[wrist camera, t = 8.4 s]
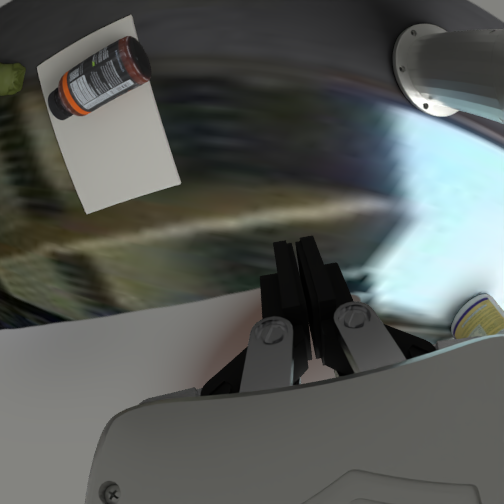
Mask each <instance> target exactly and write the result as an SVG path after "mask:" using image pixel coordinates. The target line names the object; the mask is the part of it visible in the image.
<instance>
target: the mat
mask: <svg viewBox="0 0 504 504" xmlns="http://www.w3.org/2000/svg"><path fill="white" fill-rule="evenodd" d="M126 36H132V37H134V38H136V39H137V40H138V37H137V34H136V30H135V26H134V22H133V18H132V15H130V16H127V17H125V18H123V19H120V20H118V21H116V22H114V23H112V24H110V25H108V26H106V27H103V28H101V29H99V30H98V31H96V32H94V33H92V34H90V35H88V36H86V37H84V38H82V39H81V40H79V41H77V42H75V43H74V44H72V45H70V46H69V47H67V48H65V49H64V50H62V51H60V52H59V53H57V54H56V55H54V56H52V57H51V58H49V59H48V60H46V61H45V62H43V63H42V64H40V65H39V66H37V71H38V75H39V79H40V83H41V87H42V91H43V95H44V98H45V102H46V105H47V109H48V112H49V116H50V119H51V122H52V125H53V128H54V131H55V135H56V138H57V140H58V143H59V146H60V149H61V152H62V155H63V157H64V160H65V163H66V166H67V168H68V171H69V173H70V176H71V178H72V181H73V183H74V186H75V188H76V191H77V193H78V196H79V198H80V200H81V203H82V205H83V207H84V209H85V212H86V214H89V213H92V212H95V211H97V210H100V209H103V208H106V207H109V206H112V205H115V204H118V203H121V202H124V201H127V200H130V199H133V198H136V197H139V196H142V195H145V194H149V193H152V192H155V191H158V190H162V189H165V188H169V187H172V186H175V185H179V184H181V181H180V178H179V175H178V172H177V169H176V166H175V163H174V159H173V156H172V153H171V150H170V147H169V144H168V141H167V138H166V134H165V131H164V128H163V125H162V122H161V118H160V115H159V112H158V108H157V105H156V102H155V98H154V95H153V91H152V88H151V85H150V81H148V82H146V83H144V84H142V85H141V86H138V87H137V88H135V89H132V90H130V91H129V92H127V93H125V94H123V95H121V96H119V97H117V98H115V99H114V100H112V101H110V102H108V103H106V104H104V105H103V106H101V107H99V108H98V109H96V110H94V111H92V112H91V113H89V114H87V115H85V116H75V115H72V116H71V117H69V118H67V119H65V120H59V119H57V118H56V117H54V116H53V114H52V113H51V111H50V109H49V106H48V96H49V94H50V93H51V92H52V91H54V90H55V89H56V88H57V87H58V85H59V81H60V79H61V77H62V76H63V75H64V74H65V73H66V72H67V71H69V70H70V69H72V68H73V67H75V66H76V65H78V64H79V63H81V62H82V61H84V60H85V59H87V58H88V57H90V56H92V55H93V54H95V53H97V52H98V51H100V50H101V49H103V48H105V47H107V46H108V45H110V44H112V43H114V42H116V41H117V40H119V39H122V38H124V37H126ZM138 42H139V41H138Z"/></svg>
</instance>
